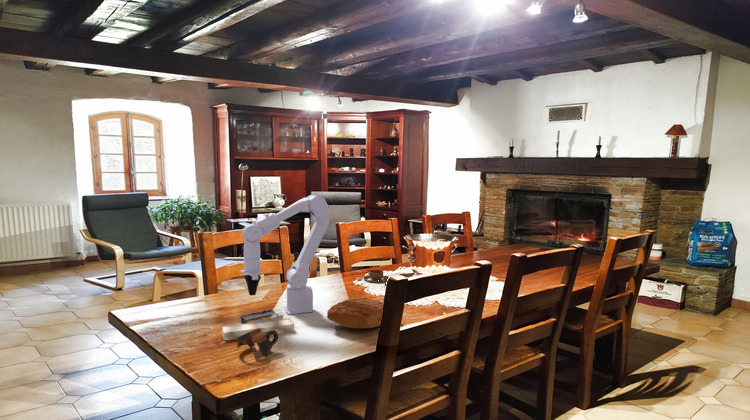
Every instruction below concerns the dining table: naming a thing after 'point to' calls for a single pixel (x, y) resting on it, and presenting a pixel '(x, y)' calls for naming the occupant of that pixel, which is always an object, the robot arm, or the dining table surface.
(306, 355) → the dining table surface
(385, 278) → the place setting
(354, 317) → the bread loaf
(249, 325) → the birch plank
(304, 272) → the robot arm
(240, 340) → the brown looped piece
